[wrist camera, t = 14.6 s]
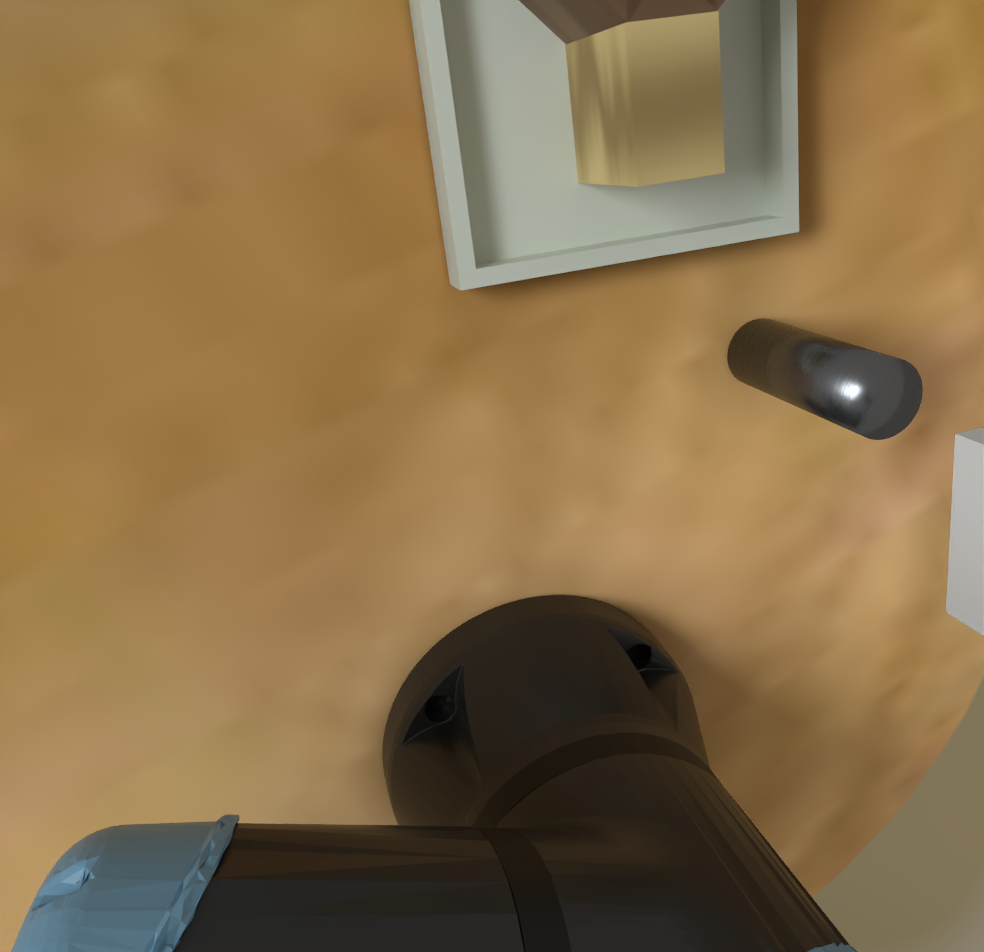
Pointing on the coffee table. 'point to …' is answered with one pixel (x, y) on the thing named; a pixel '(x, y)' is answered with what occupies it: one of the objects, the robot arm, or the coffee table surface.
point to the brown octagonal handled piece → (641, 87)
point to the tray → (551, 149)
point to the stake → (827, 377)
